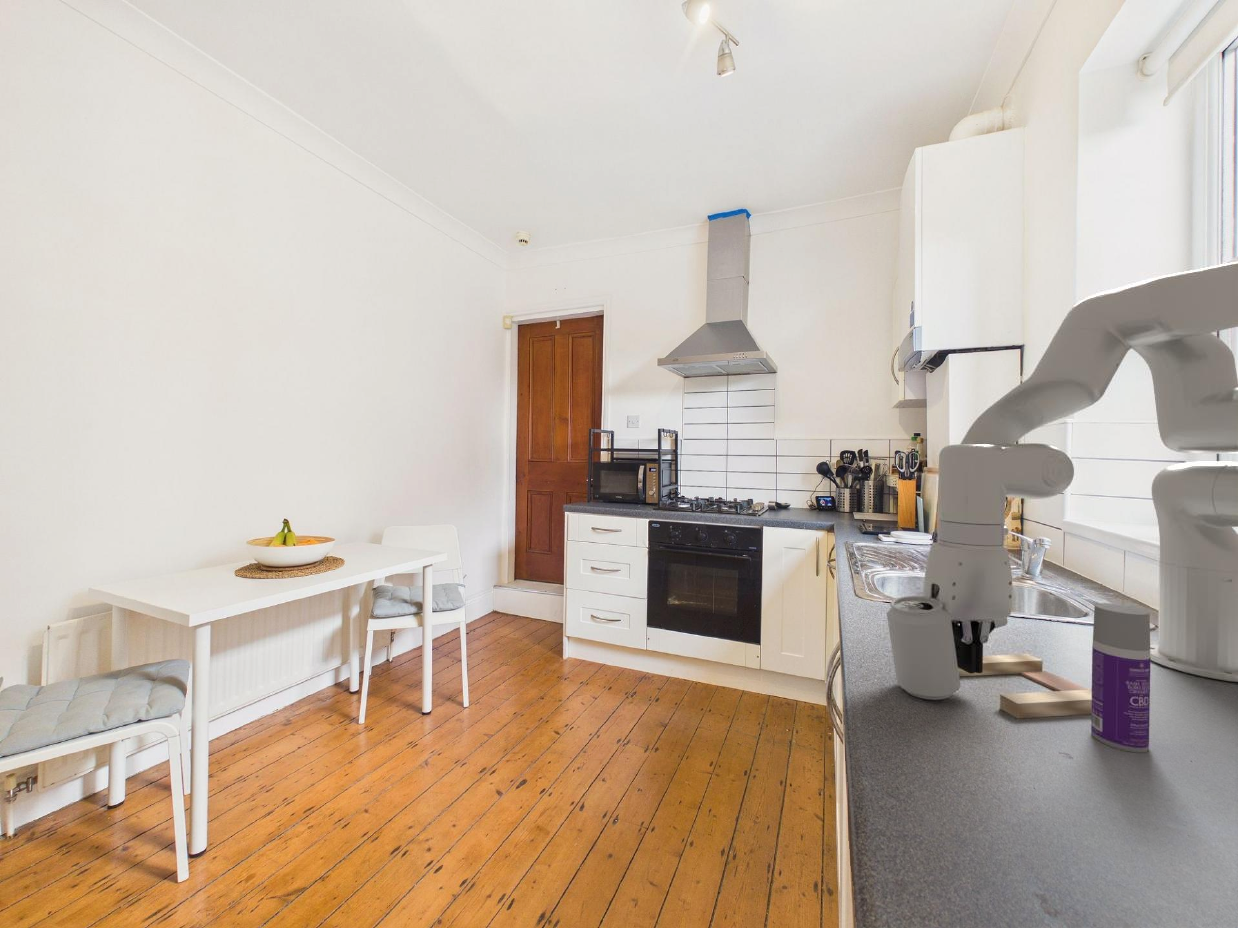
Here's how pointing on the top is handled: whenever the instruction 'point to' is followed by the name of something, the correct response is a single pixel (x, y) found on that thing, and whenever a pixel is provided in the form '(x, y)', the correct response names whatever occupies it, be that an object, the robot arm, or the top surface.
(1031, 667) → the channel
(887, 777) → the top surface
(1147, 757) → the top surface
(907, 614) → the can
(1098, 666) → the container
